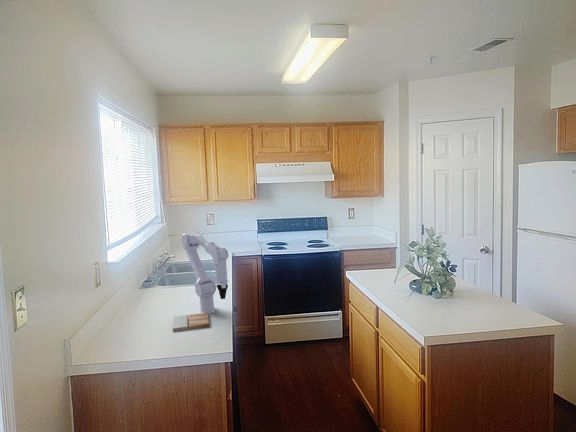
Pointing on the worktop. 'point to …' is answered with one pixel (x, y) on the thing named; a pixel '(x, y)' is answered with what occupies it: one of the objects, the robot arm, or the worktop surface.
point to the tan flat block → (198, 320)
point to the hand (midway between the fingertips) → (222, 298)
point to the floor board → (180, 323)
